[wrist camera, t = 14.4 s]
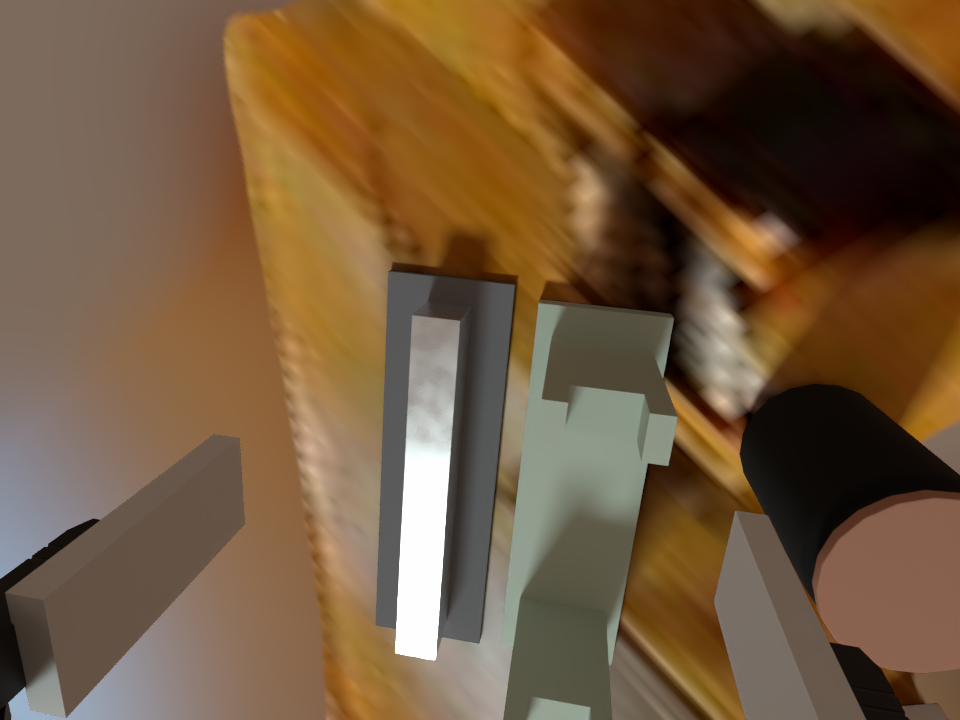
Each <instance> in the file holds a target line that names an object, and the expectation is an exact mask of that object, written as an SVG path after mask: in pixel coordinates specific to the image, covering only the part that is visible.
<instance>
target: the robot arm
mask: <svg viewBox="0 0 960 720" xmlns="http://www.w3.org/2000/svg"><path fill="white" fill-rule="evenodd" d="M241 469H242V468H241V452H240V438H235V437H229V436H222V435H215V434H214V435H212V436H211V437H210V438H208V439H207V440H206V441H204V442H203V443H202V444H200V445H199V446H198V447H196V448H195V449H194V450H192V451H191V452H190V453H188V454H187V455H186V456H185V457H183V458H182V459H181V460H179V461H178V462H177V463H175V464H174V465H173V466H171V467H170V468H169V469H168V470H166V471H165V472H163V473H162V474H161V475H159V476H158V477H157V478H156V479H154V480H153V481H152V482H150V483H149V484H148V485H146V486H145V487H144V488H142V489H141V490H140V491H138V492H137V493H136V494H135V495H133V496H132V497H131V498H129V499H128V500H126V501H125V502H124V503H123V504H121V505H120V506H119V507H118V508H116V509H115V510H113V511H112V512H111V513H109V514H108V515H107V516H106V517H104V518H103V519H101V520H98V519H91V520H89V521H87V522H84V523H83V524H80V525H78V526H75V527H73V528H71V529H69V530H67V531H66V532H64V533H63V534H61V535H60V536H59V537H57V538H56V539H55V540H53V541H52V542H50V543H49V544H48V547H44V548H42V549H41V550H40V551H38V552H37V553H35V554H34V555H33V556H32V559H27V560H26V561H24V562H23V563H22V564H20V565H19V566H18V567H16V568H15V569H14V570H12V571H11V572H9V573H8V574H7V575H5V576H4V577H2V578H1V579H0V720H11V713H10V708H9V704H8V702H9V701H10V700H11V699H12V698H14V696H16V695H17V694H18V693H19V692H20V691H21V690H22V689H23V688H24V687H25V688H26V692H27V697H28V702H29V706H30V710H32V711H36V712H41V713H45V714H50V715H54V716H59V717H64V718H67V716H68V715H69V714H70V713H71V712H72V711H73V710H74V709H75V708H76V707H77V706H78V704H79V703H80V702H81V701H82V700H83V699H84V698H85V697H86V696H87V695H88V694H89V693H90V691H91V690H92V689H93V688H94V687H95V686H96V685H97V684H98V683H99V682H100V681H101V680H102V679H103V677H104V676H105V675H106V674H107V673H108V672H109V671H110V670H111V669H112V668H113V666H114V665H115V664H116V663H117V662H118V661H119V660H120V659H121V658H122V656H124V655H125V654H126V652H127V651H128V650H129V649H130V648H131V647H132V646H133V645H134V644H135V643H136V642H137V640H138V639H139V638H140V637H141V636H142V635H143V634H144V633H145V632H146V631H147V630H148V629H149V628H150V626H151V625H152V624H153V623H154V622H155V621H156V620H157V619H158V618H159V617H160V616H161V614H162V613H163V612H164V611H165V610H166V609H167V608H168V607H169V606H170V605H171V604H172V602H173V601H174V600H175V599H176V598H177V597H178V596H179V595H180V594H181V593H182V592H183V591H184V590H185V588H186V587H187V586H188V585H189V584H190V583H191V582H192V581H193V580H194V579H195V578H196V577H197V575H198V574H199V573H200V572H201V571H202V570H203V569H204V568H205V567H206V566H207V565H208V563H209V562H210V561H211V560H212V559H213V558H214V557H215V556H216V555H217V554H218V553H219V552H220V550H221V549H222V548H223V547H224V546H225V545H226V544H227V543H228V542H229V541H230V540H231V538H232V537H233V536H234V535H235V534H236V533H237V532H238V531H239V530H240V529H241V528H242V527H243V526H244V524H245V517H244V501H243V486H242V470H241ZM714 604H715V607H716V611H717V615H718V618H719V622H720V626H721V630H722V633H723V637H724V641H725V644H726V648H727V652H728V655H729V659H730V663H731V666H732V670H733V674H734V678H735V681H736V685H737V689H738V692H739V696H740V700H741V703H742V707H743V711H744V715H745V718H746V720H909V718H908V717H906V716H905V711H904V709H903V707H902V706H901V704H900V702H899V700H898V698H897V697H895V696H894V691H893V689H892V688H891V686H890V684H889V682H888V681H887V679H886V677H885V675H884V673H883V672H882V670H881V669H880V668H879V667H878V666H877V665H876V664H875V663H874V662H873V661H872V660H871V659H870V658H869V657H868V656H867V655H866V654H865V653H864V652H863V651H862V650H861V649H860V648H859V647H854V646H848V645H842V644H836V643H830V642H829V641H828V639H827V637H826V635H825V633H824V631H823V629H822V627H821V625H820V623H819V621H818V619H817V617H816V614H815V612H814V610H813V608H812V606H811V604H810V602H809V600H808V598H807V596H806V594H805V592H804V590H803V587H802V585H801V583H800V581H799V579H798V577H797V575H796V573H795V571H794V569H793V567H792V565H791V563H790V560H789V558H788V556H787V554H786V552H785V550H784V548H783V546H782V544H781V542H780V540H779V538H778V535H777V533H776V531H775V529H774V527H773V525H772V523H771V521H770V519H769V517H768V515H762V514H755V513H748V512H741V511H735V515H734V519H733V523H732V527H731V532H730V536H729V540H728V544H727V549H726V553H725V557H724V561H723V566H722V570H721V574H720V578H719V582H718V587H717V591H716V595H715V599H714Z"/></svg>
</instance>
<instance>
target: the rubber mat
mask: <svg viewBox="0 0 960 720" xmlns="http://www.w3.org/2000/svg"><path fill="white" fill-rule="evenodd" d="M515 285H516V284H514V283H504V282H495V281H486V280H477V279H468V278H458V277H449V276H440V275H431V274H422V273H413V272H403V271H394V270H390V271H389V276H388V304H387V331H386V359H385V386H384V414H383V441H382V468H381V496H380V523H379V551H378V578H377V605H376V625H377V626H383V627H389V628H394V629H397V613H398V592H399V572H400V552H401V531H402V511H403V490H404V470H405V450H406V429H407V409H408V389H409V368H410V348H411V328H412V315H413V314H414V313H415V312H416V311H417V310H418V309H420V308H421V307H422V306H423V305H424V304H425V303H426V302H427V301H434V302H442V303H451V304H460V305H469V306H472V307H471V319H470V332H469V345H468V357H467V370H466V383H465V395H464V408H463V421H462V434H461V446H460V459H459V472H458V484H457V497H456V510H455V522H454V535H453V548H452V561H451V573H450V586H449V599H448V611H447V621H446V625H445V628H444V632H443V635H442V637H445V638H451V639H456V640H462V641H468V642H473V643H479V642H480V636H481V626H482V616H483V606H484V596H485V586H486V576H487V566H488V556H489V546H490V536H491V526H492V516H493V506H494V496H495V486H496V476H497V466H498V456H499V446H500V436H501V426H502V416H503V406H504V396H505V385H506V375H507V365H508V355H509V345H510V335H511V325H512V315H513V305H514V295H515Z"/></svg>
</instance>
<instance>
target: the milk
mask: <svg viewBox="0 0 960 720" xmlns="http://www.w3.org/2000/svg"><path fill="white" fill-rule="evenodd" d="M902 707H903V709H904V711H905V716H906V717H908V718H909V720H949V719H948V718H947V716H946V715H945V713H944V712H943V710H942V709H941V707H940V706H939V704H937V703H935V704H922V705H909V706H902Z"/></svg>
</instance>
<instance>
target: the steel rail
mask: <svg viewBox="0 0 960 720" xmlns="http://www.w3.org/2000/svg"><path fill="white" fill-rule="evenodd" d="M471 307H472V306H469V305H460V304H451V303H442V302H434V301H427V302H426V303H425V304H424V305H423V306H422V307H421V308H420V309H418V310H417V311H416V312H415V313H414V314H413V315H412V328H411V348H410V368H409V389H408V409H407V429H406V450H405V470H404V490H403V511H402V531H401V552H400V572H399V592H398V613H397V633H396V653H399V654H404V655H410V656H415V657H421V658H426V659H432V660H435V659H436V656H437V652H438V649H439V645H440V642H441V638H442V635H443V632H444V628H445V625H446V621H447V611H448V599H449V586H450V573H451V561H452V548H453V535H454V522H455V510H456V497H457V484H458V472H459V459H460V446H461V434H462V421H463V408H464V395H465V383H466V370H467V357H468V345H469V332H470V319H471Z"/></svg>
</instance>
